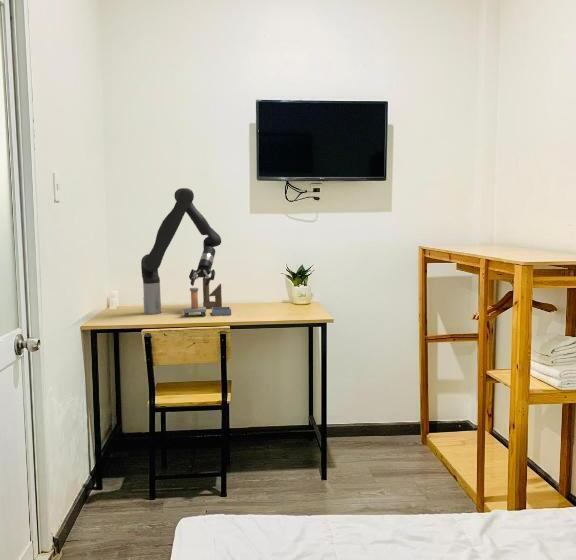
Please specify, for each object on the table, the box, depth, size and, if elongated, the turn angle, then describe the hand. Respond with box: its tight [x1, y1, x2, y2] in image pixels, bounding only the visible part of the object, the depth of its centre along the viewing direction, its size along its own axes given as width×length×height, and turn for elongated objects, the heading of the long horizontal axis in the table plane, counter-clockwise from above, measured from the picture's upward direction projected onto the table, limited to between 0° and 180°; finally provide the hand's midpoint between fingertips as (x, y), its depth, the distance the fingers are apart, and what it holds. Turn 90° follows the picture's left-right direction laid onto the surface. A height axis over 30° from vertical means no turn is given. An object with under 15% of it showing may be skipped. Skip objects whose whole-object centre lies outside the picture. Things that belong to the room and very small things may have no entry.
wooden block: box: [202, 277, 223, 309], centre depth 346 cm, size 4×11×18 cm, turn 101°
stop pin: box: [189, 287, 199, 309], centre depth 321 cm, size 5×5×11 cm
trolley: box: [183, 306, 207, 318], centre depth 322 cm, size 12×8×4 cm, turn 100°
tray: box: [211, 306, 232, 316], centre depth 326 cm, size 10×10×3 cm
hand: (199, 285), depth 327 cm, fingers open, 8 cm apart
